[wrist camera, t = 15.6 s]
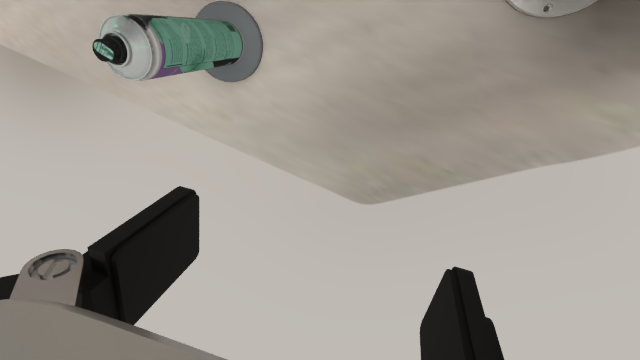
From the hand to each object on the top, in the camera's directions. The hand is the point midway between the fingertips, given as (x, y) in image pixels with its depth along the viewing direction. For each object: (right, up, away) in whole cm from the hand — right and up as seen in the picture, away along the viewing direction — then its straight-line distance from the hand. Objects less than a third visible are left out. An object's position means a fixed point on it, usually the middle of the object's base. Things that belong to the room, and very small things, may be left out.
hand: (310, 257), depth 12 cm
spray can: (-12, +21, +31) cm, 40 cm away
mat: (-12, +22, +32) cm, 41 cm away
